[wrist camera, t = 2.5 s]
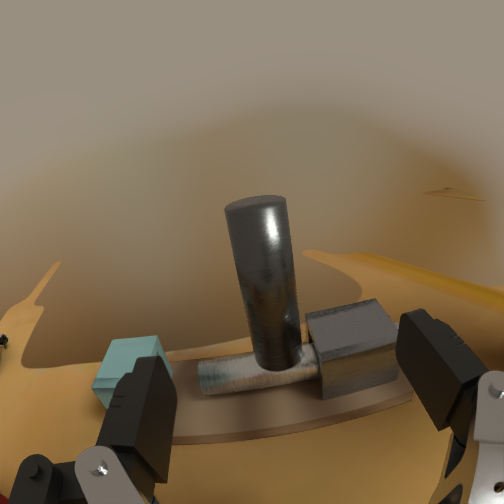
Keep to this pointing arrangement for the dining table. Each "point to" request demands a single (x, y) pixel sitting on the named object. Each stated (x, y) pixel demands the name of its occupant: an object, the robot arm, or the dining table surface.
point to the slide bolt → (263, 303)
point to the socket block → (124, 363)
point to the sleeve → (353, 347)
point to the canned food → (3, 499)
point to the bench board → (268, 407)
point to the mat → (3, 340)
